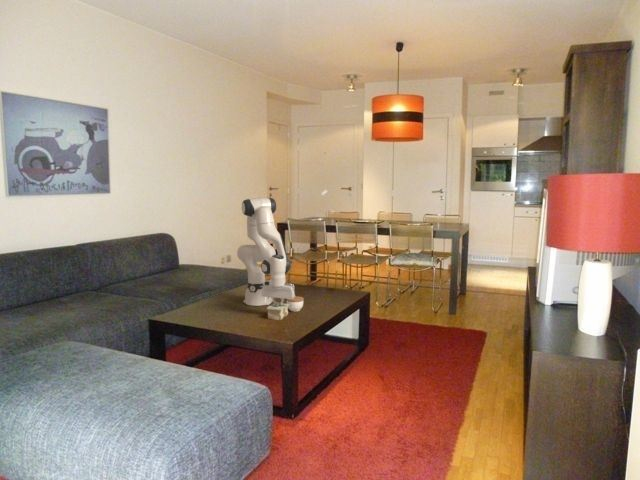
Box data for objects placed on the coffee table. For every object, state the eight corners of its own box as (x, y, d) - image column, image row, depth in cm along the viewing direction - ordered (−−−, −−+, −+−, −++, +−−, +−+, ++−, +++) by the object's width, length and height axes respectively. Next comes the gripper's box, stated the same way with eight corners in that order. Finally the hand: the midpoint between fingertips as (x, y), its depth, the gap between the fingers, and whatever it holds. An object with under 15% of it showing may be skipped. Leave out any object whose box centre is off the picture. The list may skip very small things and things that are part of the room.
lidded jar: (306, 309, 314) (306, 295, 313) (297, 313, 305) (297, 298, 304) (292, 307, 319) (292, 293, 318) (283, 310, 310) (283, 296, 309)
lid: (275, 305, 303) (275, 298, 303) (289, 306, 300) (289, 299, 300) (266, 310, 291) (266, 303, 290) (280, 311, 288) (280, 305, 288)
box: (275, 313, 303) (275, 304, 303) (287, 315, 301) (288, 305, 300) (267, 318, 292) (267, 309, 291) (280, 320, 289) (280, 310, 289)
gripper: (296, 282, 294) (296, 305, 295) (264, 280, 300) (264, 302, 302) (292, 284, 288) (292, 307, 289) (260, 282, 294) (260, 304, 296)
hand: (278, 305), depth 295 cm, fingers closed on lid, 2 cm apart
